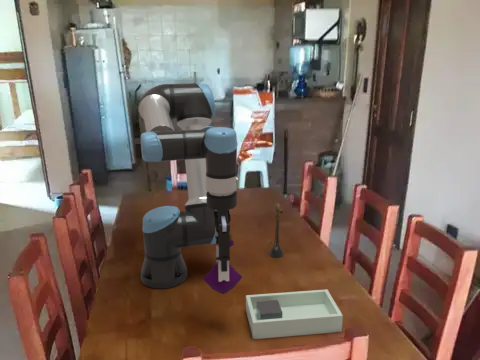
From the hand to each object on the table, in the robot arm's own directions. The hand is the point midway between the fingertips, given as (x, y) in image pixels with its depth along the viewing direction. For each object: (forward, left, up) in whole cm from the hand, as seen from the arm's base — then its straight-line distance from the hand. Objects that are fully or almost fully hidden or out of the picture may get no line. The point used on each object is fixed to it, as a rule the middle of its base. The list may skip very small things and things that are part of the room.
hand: (222, 273), depth 115 cm
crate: (+19, 0, -16) cm, 25 cm away
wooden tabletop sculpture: (+23, +39, -16) cm, 48 cm away
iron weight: (+13, 0, -15) cm, 19 cm away
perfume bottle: (0, 0, -5) cm, 5 cm away
